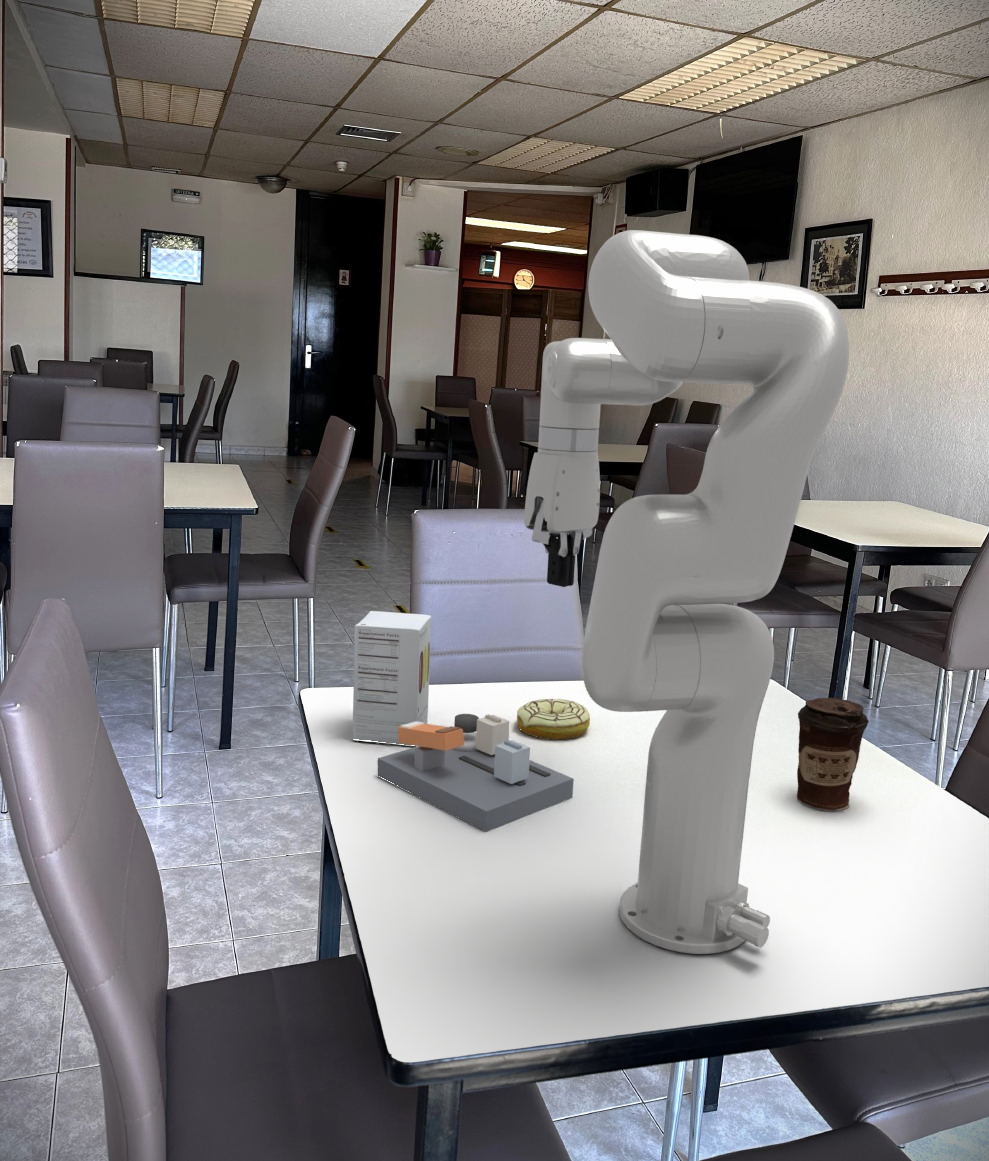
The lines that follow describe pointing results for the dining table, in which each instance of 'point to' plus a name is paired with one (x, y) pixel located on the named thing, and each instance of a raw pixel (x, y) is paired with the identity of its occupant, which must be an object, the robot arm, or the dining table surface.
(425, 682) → the supplement box
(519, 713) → the decorated donut
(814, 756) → the coffee cup
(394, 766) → the console
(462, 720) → the push button
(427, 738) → the rocker switch
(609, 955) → the dining table surface
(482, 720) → the ivory knob
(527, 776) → the slate knob
